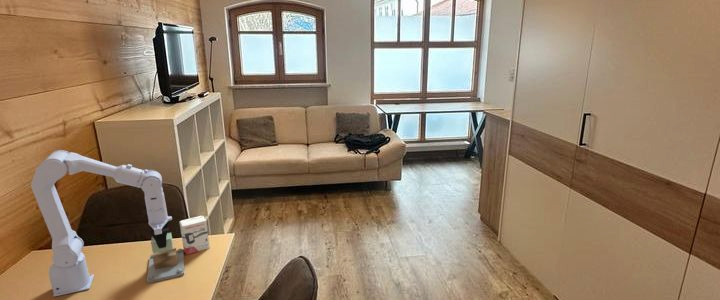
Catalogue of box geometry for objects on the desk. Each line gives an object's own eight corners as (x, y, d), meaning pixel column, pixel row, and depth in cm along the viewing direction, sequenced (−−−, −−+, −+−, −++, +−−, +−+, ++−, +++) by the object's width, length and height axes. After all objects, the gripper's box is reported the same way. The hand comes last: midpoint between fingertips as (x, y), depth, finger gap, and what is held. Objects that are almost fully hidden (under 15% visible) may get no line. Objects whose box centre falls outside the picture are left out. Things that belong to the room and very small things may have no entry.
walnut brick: (154, 269, 133) (152, 259, 132) (155, 262, 137) (153, 252, 136) (177, 264, 135) (175, 254, 134) (177, 258, 139) (175, 248, 138)
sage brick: (152, 253, 131) (150, 242, 130) (153, 246, 135) (151, 236, 134) (172, 249, 133) (170, 238, 132) (172, 242, 137) (171, 232, 136)
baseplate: (147, 283, 127) (146, 279, 127) (150, 258, 141) (149, 254, 141) (184, 275, 131) (183, 271, 131) (183, 251, 145) (183, 247, 145)
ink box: (186, 255, 143) (181, 226, 139) (183, 249, 147) (178, 220, 143) (210, 248, 147) (206, 219, 144) (207, 242, 151) (203, 214, 148)
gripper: (169, 214, 125) (175, 251, 129) (170, 196, 138) (175, 231, 142) (144, 218, 122) (151, 256, 126) (147, 200, 135) (154, 235, 139)
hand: (162, 243), depth 134 cm, fingers closed on sage brick, 4 cm apart
